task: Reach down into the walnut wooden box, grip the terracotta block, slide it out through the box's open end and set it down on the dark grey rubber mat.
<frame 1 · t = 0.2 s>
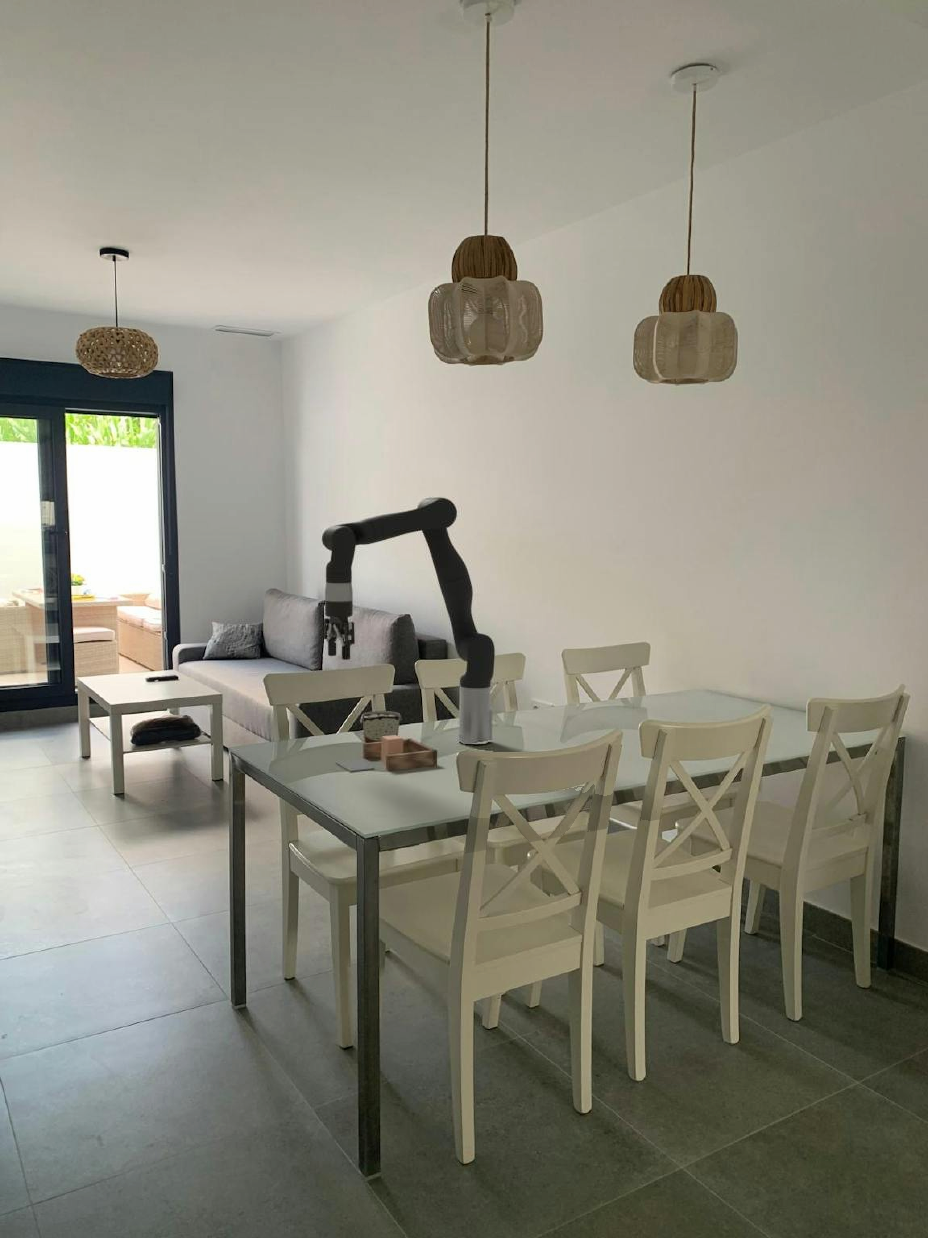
hand: (338, 657, 266), 28 cm above the table, tool pointing down, fingers open, 8 cm apart
terracotta block: (391, 762, 265), resting in open box
open box: (398, 761, 266), on the table
food container: (378, 746, 284), on the table
grey mat: (354, 766, 260), on the table
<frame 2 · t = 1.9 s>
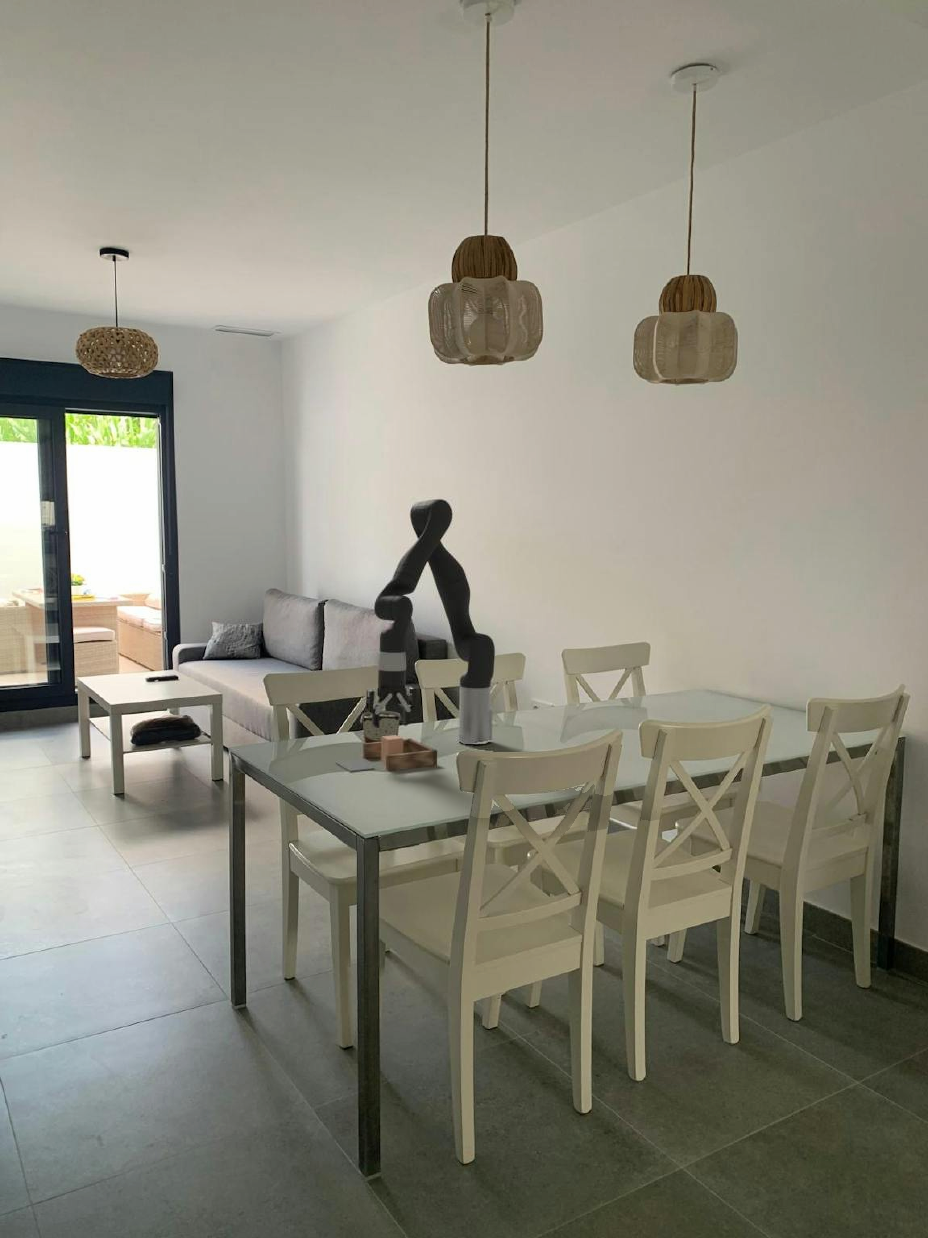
hand: (390, 726, 265), 10 cm above the table, tool pointing down, fingers open, 8 cm apart
nothing on the table moved.
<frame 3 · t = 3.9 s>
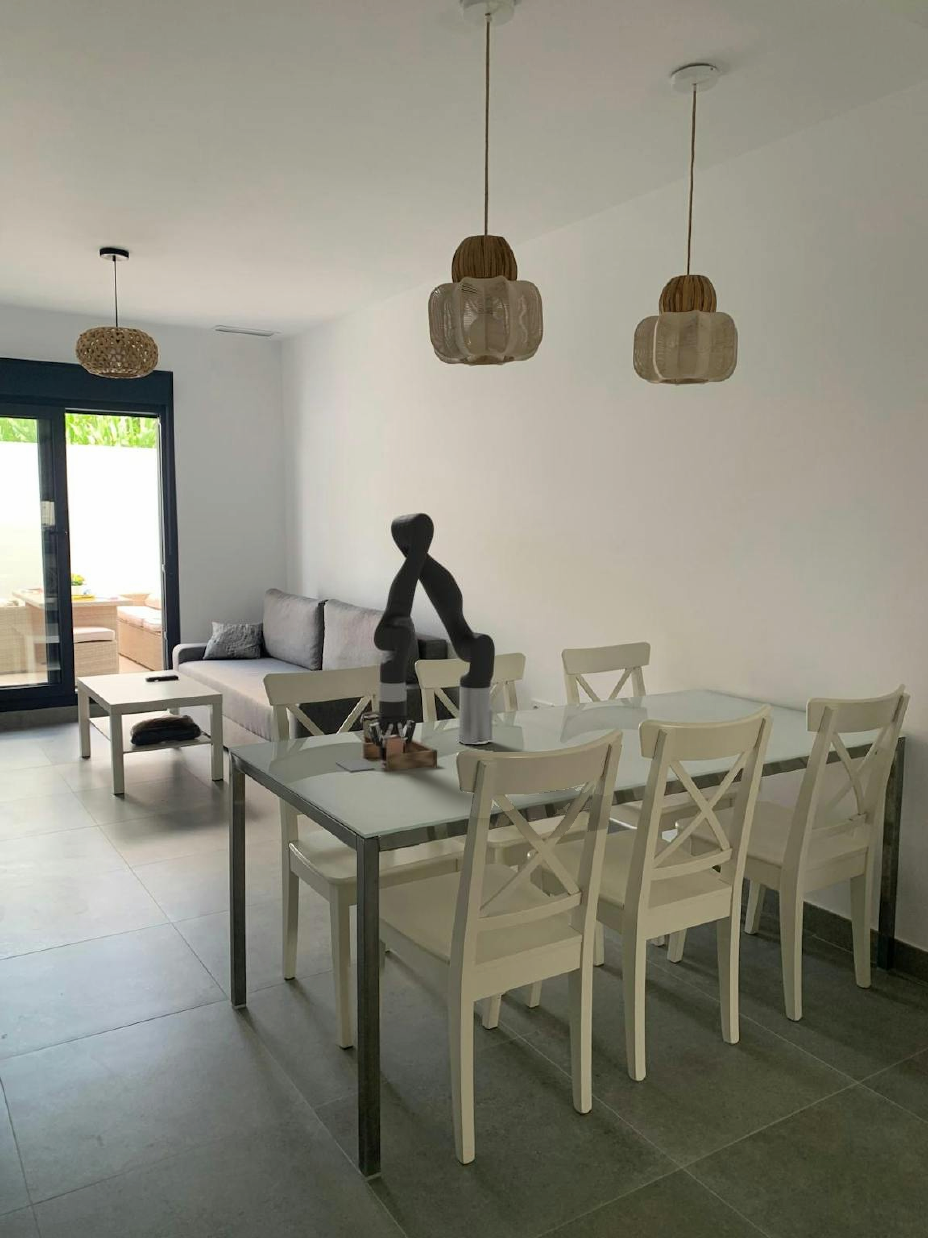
hand: (392, 759, 265), 1 cm above the table, tool pointing down, fingers closed on terracotta block, 4 cm apart
terracotta block: (392, 762, 265), resting in open box, touching gripper
everything else where it was.
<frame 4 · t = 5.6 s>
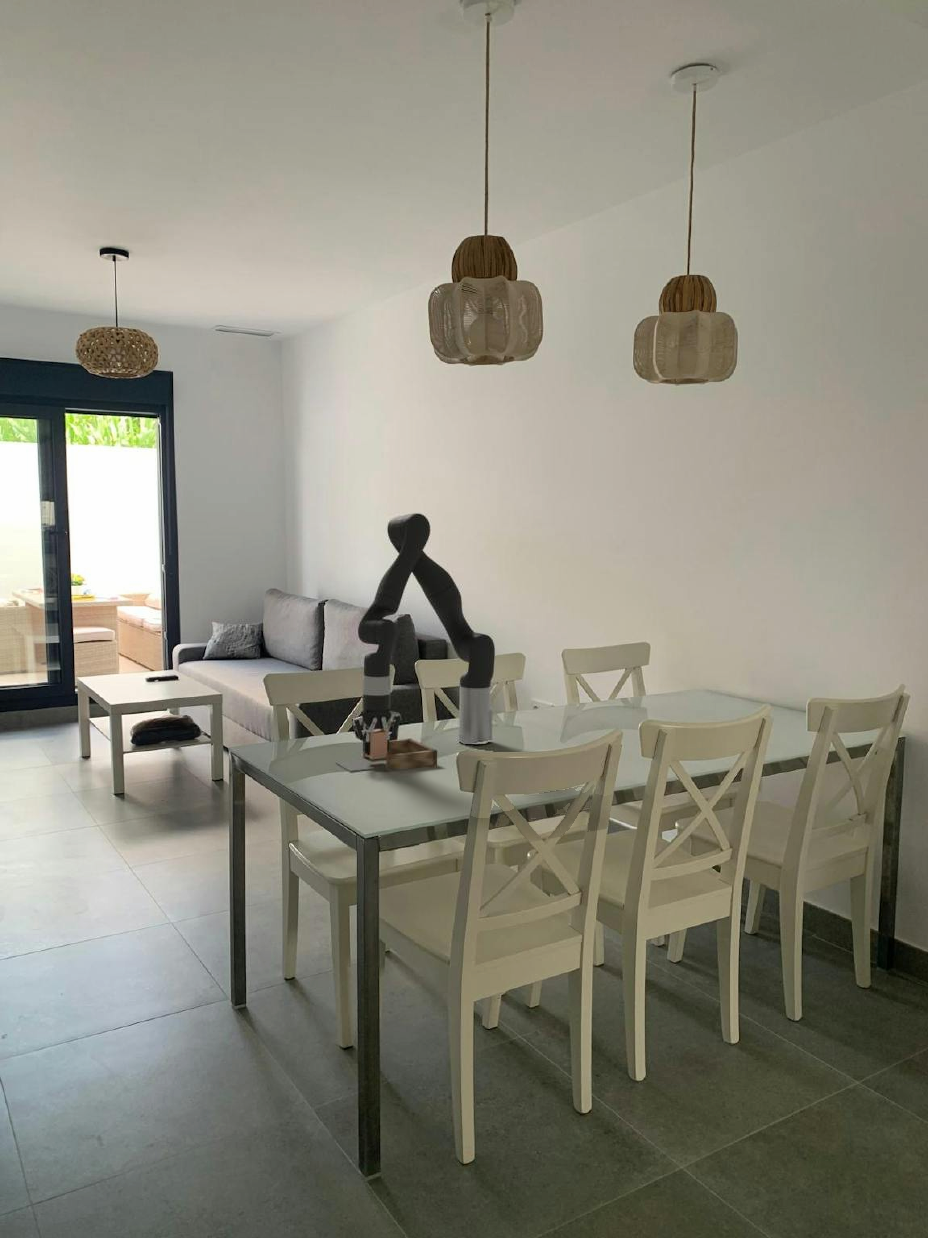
hand: (375, 753, 263), 3 cm above the table, tool pointing down, fingers closed on terracotta block, 4 cm apart
terracotta block: (375, 756, 263), point 2 cm above the table, touching gripper
everything else where it was.
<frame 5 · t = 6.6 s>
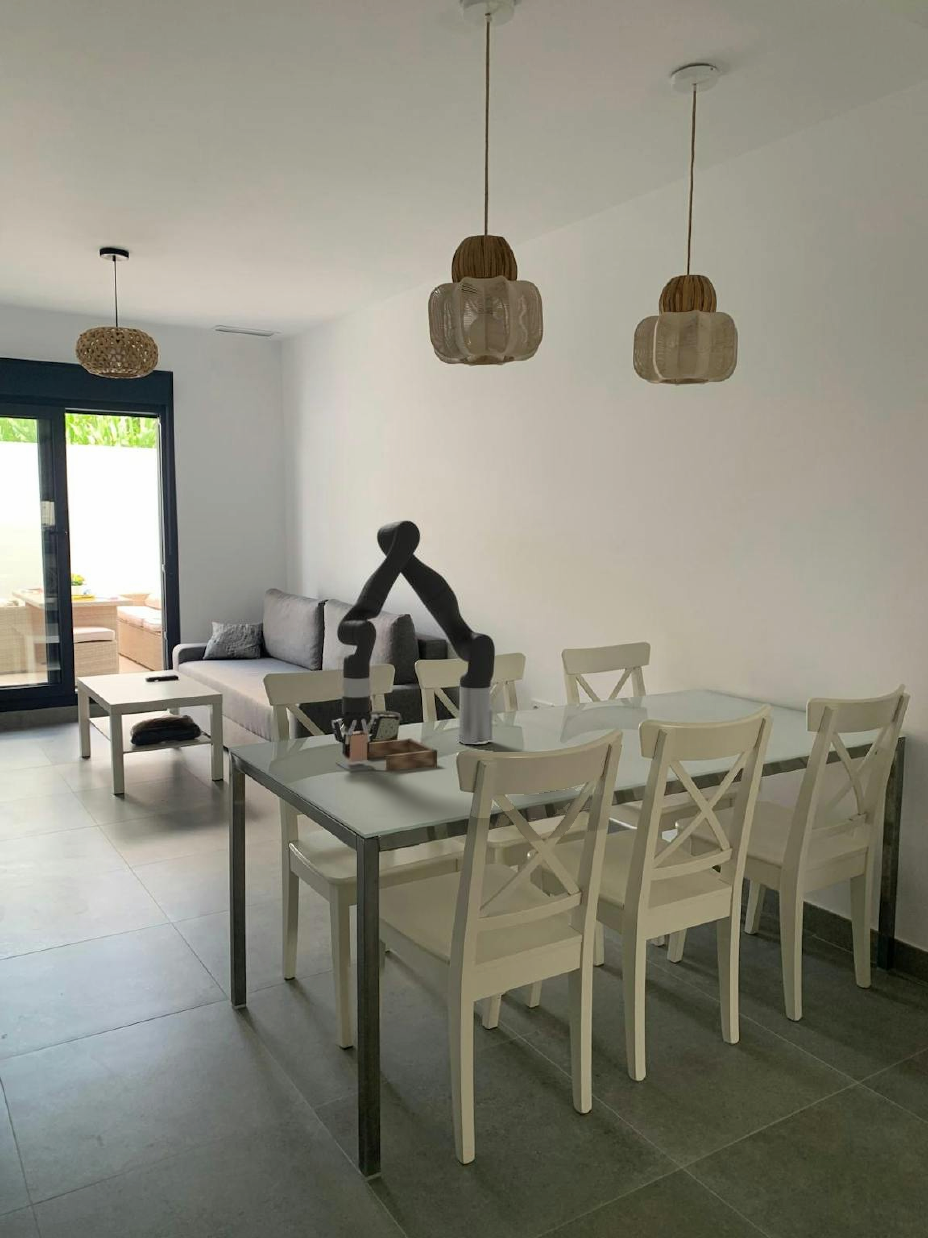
hand: (355, 756, 260), 3 cm above the table, tool pointing down, fingers closed on terracotta block, 4 cm apart
terracotta block: (355, 759, 260), point 2 cm above the table, touching gripper
everything else where it was.
when the fingers open (2 cm above the table, at t = 7.5 s): terracotta block stays where it is, resting on grey mat.
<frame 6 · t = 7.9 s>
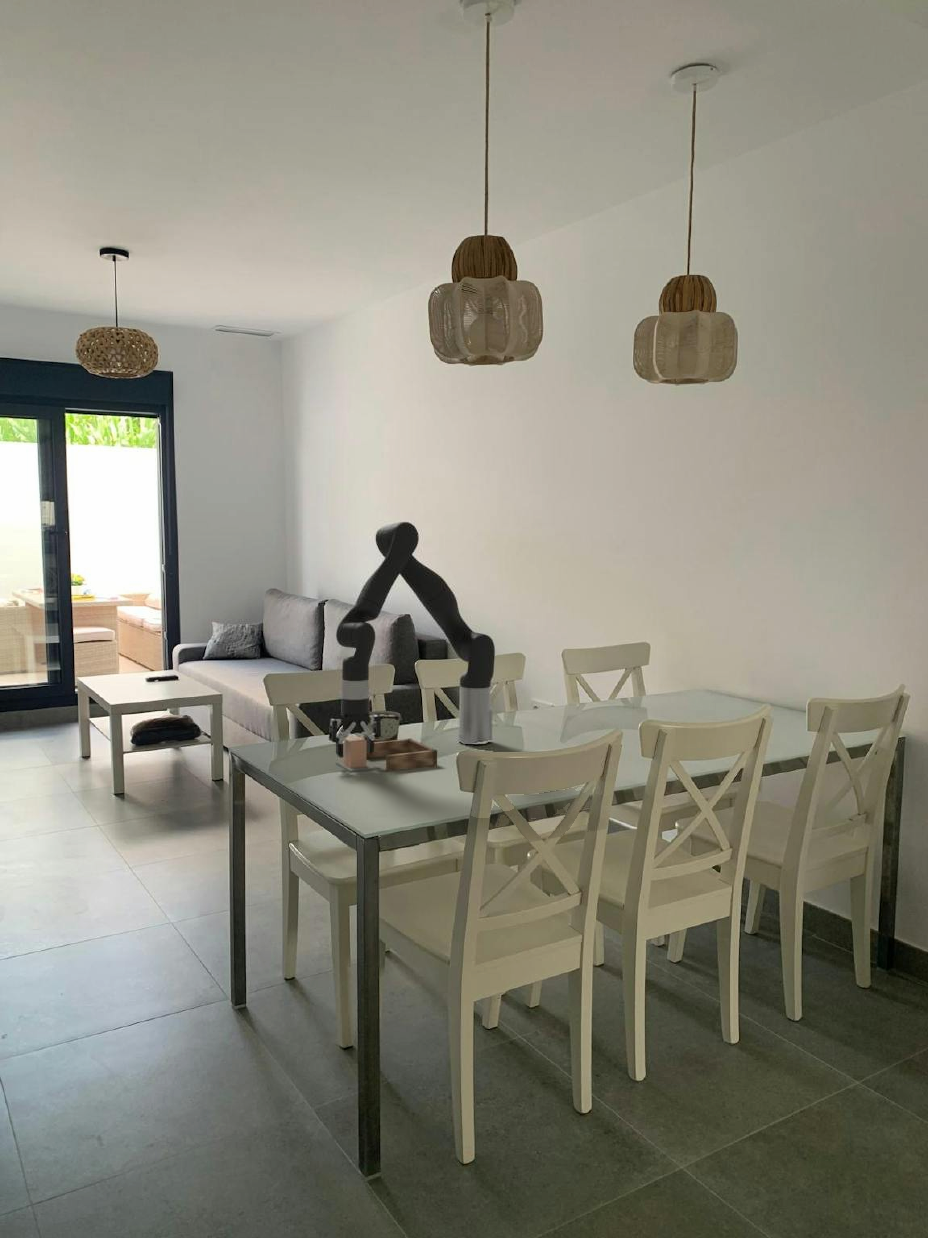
hand: (355, 755, 260), 3 cm above the table, tool pointing down, fingers open, 8 cm apart
terracotta block: (355, 765, 260), resting on grey mat
everything else where it was.
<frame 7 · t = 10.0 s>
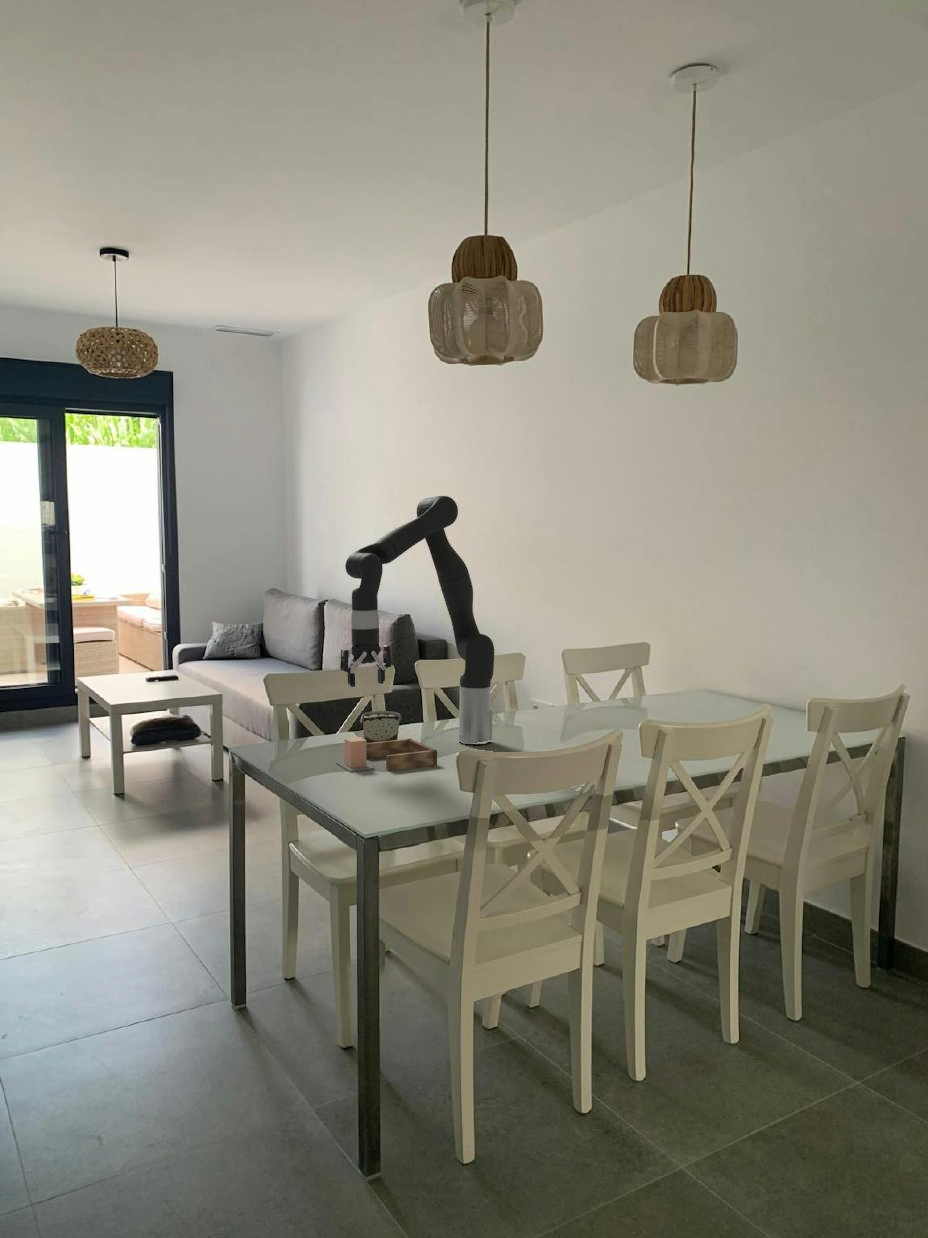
hand: (366, 684, 264), 21 cm above the table, tool pointing down, fingers open, 8 cm apart
nothing on the table moved.
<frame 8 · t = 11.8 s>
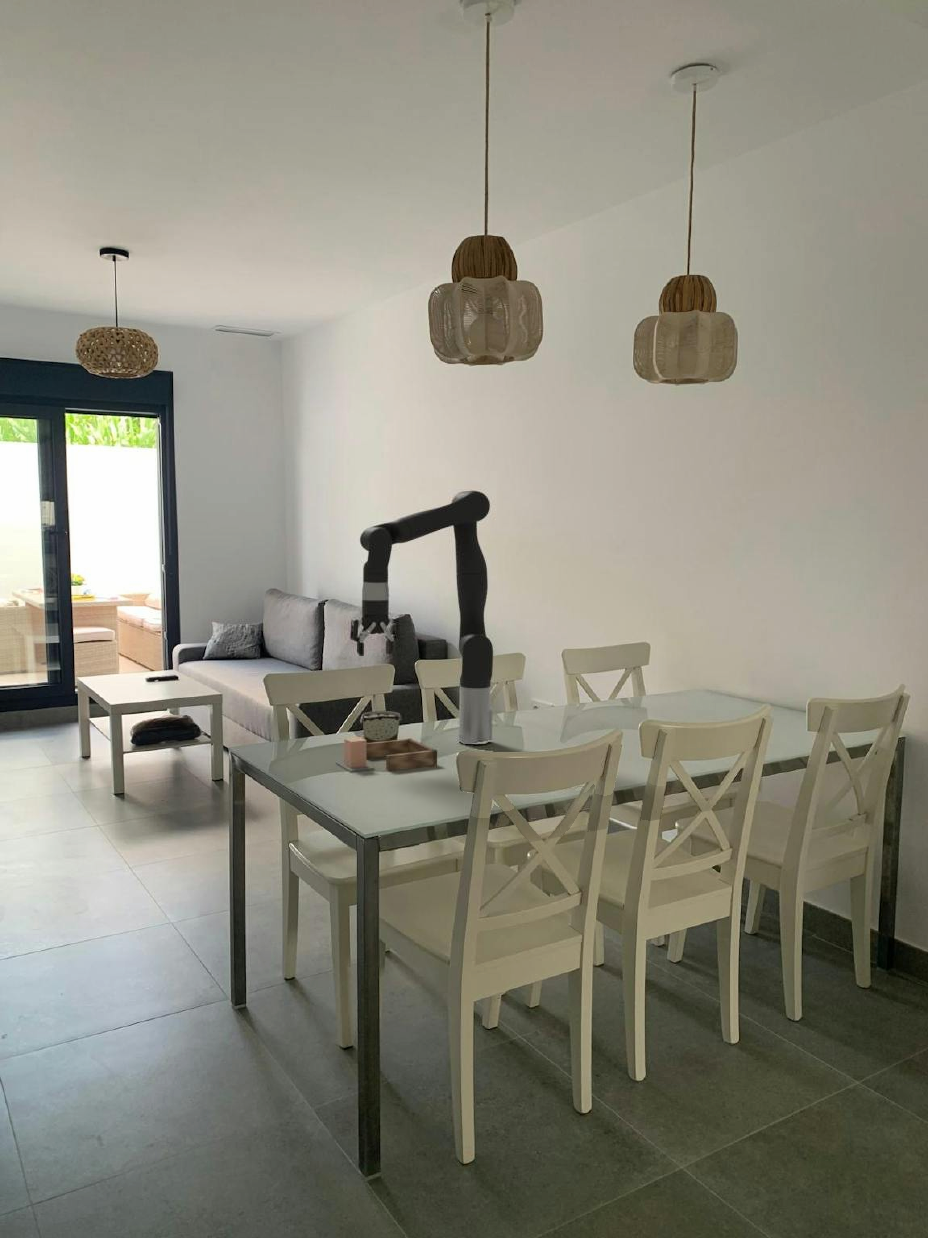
hand: (375, 654, 274), 28 cm above the table, tool pointing down, fingers open, 8 cm apart
nothing on the table moved.
at the end: terracotta block inside the target area (0.4 cm from its centre), resting on grey mat; terracotta block tilted 0°; the gripper is holding nothing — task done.
